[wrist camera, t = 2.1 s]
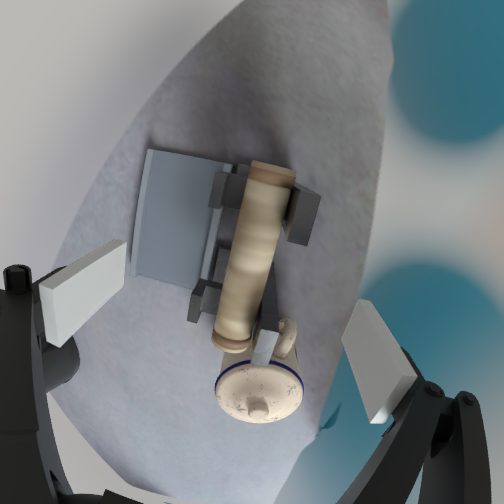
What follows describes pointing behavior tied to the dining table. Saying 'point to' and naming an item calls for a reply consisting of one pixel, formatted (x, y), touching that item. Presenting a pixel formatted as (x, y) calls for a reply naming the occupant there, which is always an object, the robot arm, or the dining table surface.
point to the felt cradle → (176, 219)
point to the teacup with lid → (262, 381)
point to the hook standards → (296, 231)
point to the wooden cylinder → (251, 254)
